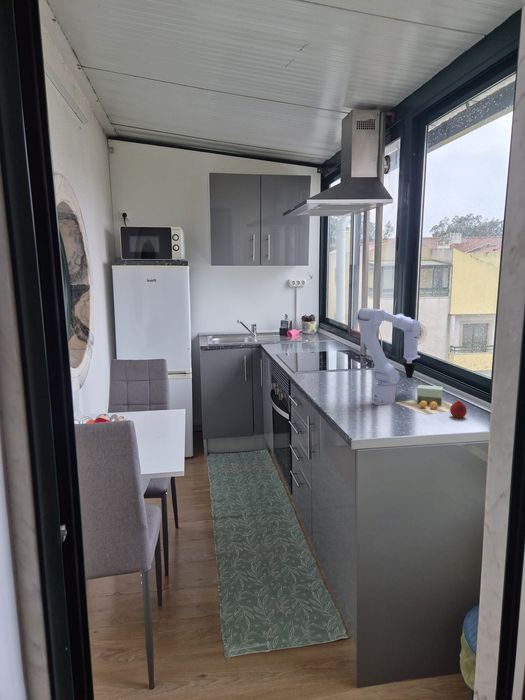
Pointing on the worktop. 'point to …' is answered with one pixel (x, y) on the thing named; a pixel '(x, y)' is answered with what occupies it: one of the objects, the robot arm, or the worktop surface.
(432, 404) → the marble
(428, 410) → the birch board
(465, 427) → the worktop surface
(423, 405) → the marble
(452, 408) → the red rounded piece
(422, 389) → the sage container
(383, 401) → the robot arm
